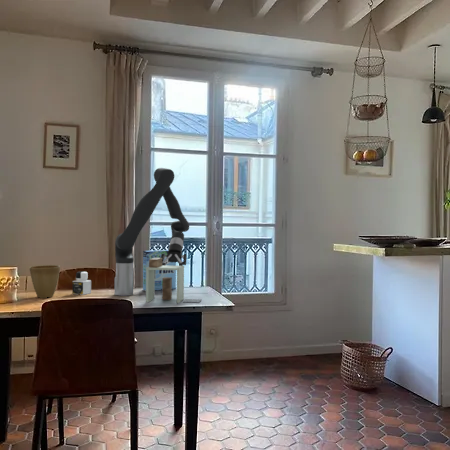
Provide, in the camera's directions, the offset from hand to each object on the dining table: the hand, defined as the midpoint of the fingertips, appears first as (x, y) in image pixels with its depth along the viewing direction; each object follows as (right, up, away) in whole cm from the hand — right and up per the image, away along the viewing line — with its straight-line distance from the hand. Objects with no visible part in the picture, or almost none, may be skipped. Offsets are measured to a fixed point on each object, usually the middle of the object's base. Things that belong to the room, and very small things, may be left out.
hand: (171, 270), depth 245 cm
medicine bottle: (-50, -14, +6) cm, 52 cm away
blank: (-1, -14, -10) cm, 17 cm away
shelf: (-1, -14, -14) cm, 20 cm away
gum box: (-10, -14, +24) cm, 30 cm away
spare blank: (-6, +3, -13) cm, 15 cm away
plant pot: (-65, -14, -7) cm, 67 cm away
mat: (+12, -14, -16) cm, 25 cm away
